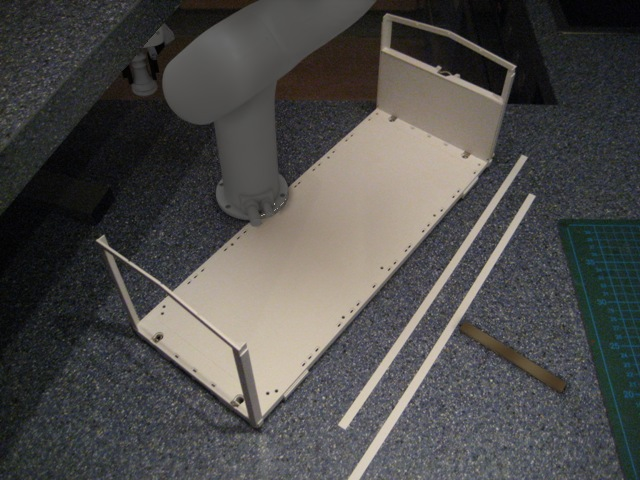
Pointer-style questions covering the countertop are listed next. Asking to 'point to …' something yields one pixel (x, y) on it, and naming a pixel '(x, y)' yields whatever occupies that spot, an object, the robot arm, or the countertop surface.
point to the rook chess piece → (142, 76)
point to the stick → (513, 357)
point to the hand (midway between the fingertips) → (142, 77)
